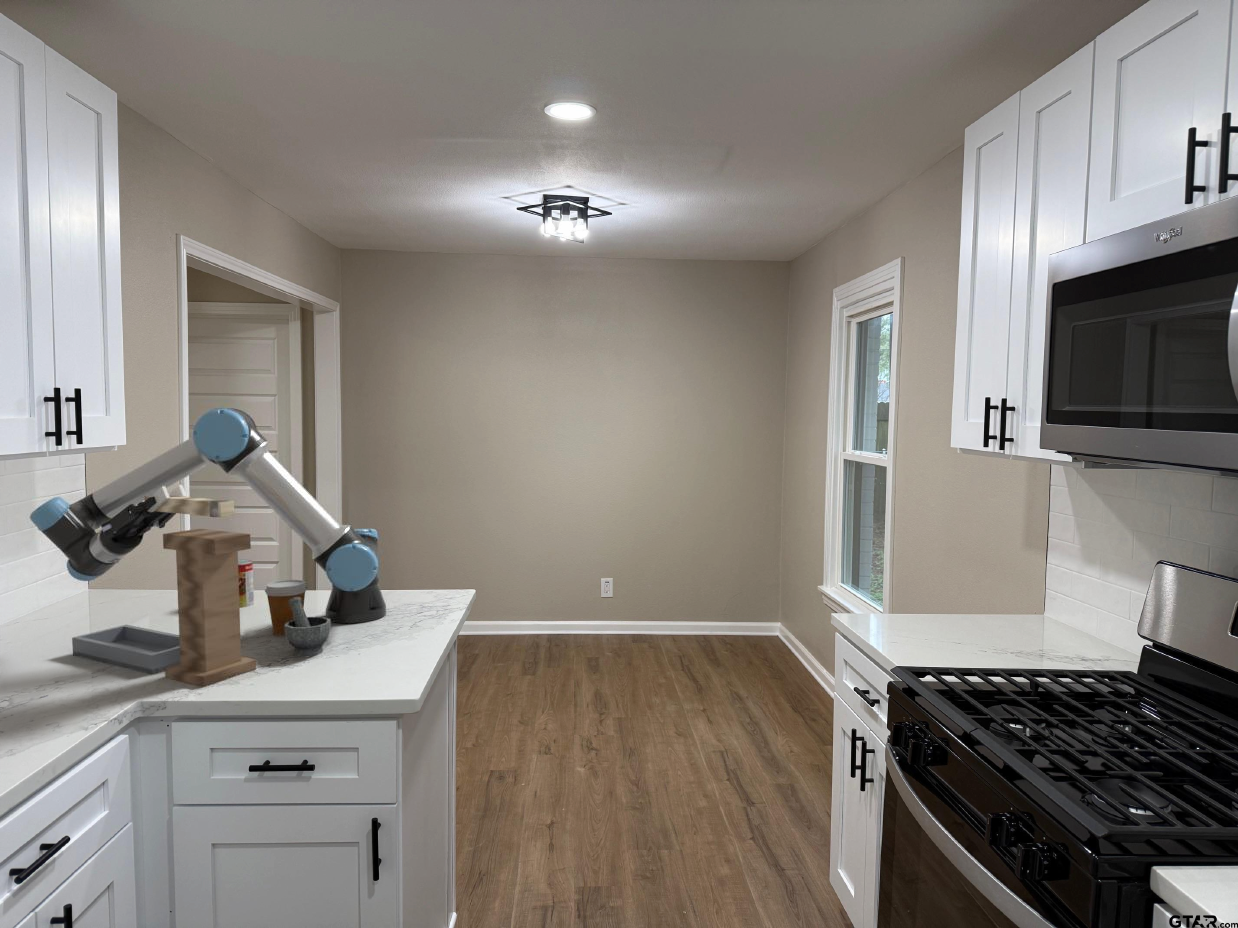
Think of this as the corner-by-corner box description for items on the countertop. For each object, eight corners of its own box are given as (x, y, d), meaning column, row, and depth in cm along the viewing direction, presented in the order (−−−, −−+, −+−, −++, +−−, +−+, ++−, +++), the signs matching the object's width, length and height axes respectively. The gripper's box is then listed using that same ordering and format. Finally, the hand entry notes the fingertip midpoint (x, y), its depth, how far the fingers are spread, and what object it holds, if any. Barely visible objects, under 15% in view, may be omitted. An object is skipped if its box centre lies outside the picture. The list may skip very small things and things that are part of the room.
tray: (72, 655, 178) (72, 637, 178) (126, 641, 189) (126, 624, 189) (152, 674, 166) (152, 655, 165) (205, 658, 176) (205, 640, 176)
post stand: (159, 675, 165) (153, 535, 163) (212, 659, 176) (207, 527, 173) (211, 688, 158) (205, 541, 156) (262, 670, 168) (258, 532, 166)
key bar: (142, 510, 170) (142, 496, 170) (160, 508, 174) (160, 494, 174) (218, 517, 159) (218, 502, 159) (236, 515, 163) (235, 500, 163)
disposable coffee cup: (282, 639, 190) (281, 589, 190) (257, 633, 196) (256, 584, 195) (316, 630, 199) (315, 582, 198) (292, 624, 204) (290, 577, 203)
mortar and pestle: (339, 651, 181) (338, 598, 181) (301, 661, 174) (299, 607, 173) (311, 642, 188) (310, 591, 187) (273, 652, 181) (271, 599, 180)
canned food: (226, 602, 227) (224, 559, 226) (256, 600, 229) (254, 558, 228) (219, 608, 219) (217, 565, 218) (250, 607, 221) (249, 563, 220)
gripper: (158, 549, 185) (215, 503, 175) (85, 561, 170) (143, 511, 160) (146, 519, 186) (203, 472, 176) (73, 529, 172) (130, 478, 162)
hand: (174, 491), depth 168 cm, fingers closed on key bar, 3 cm apart
